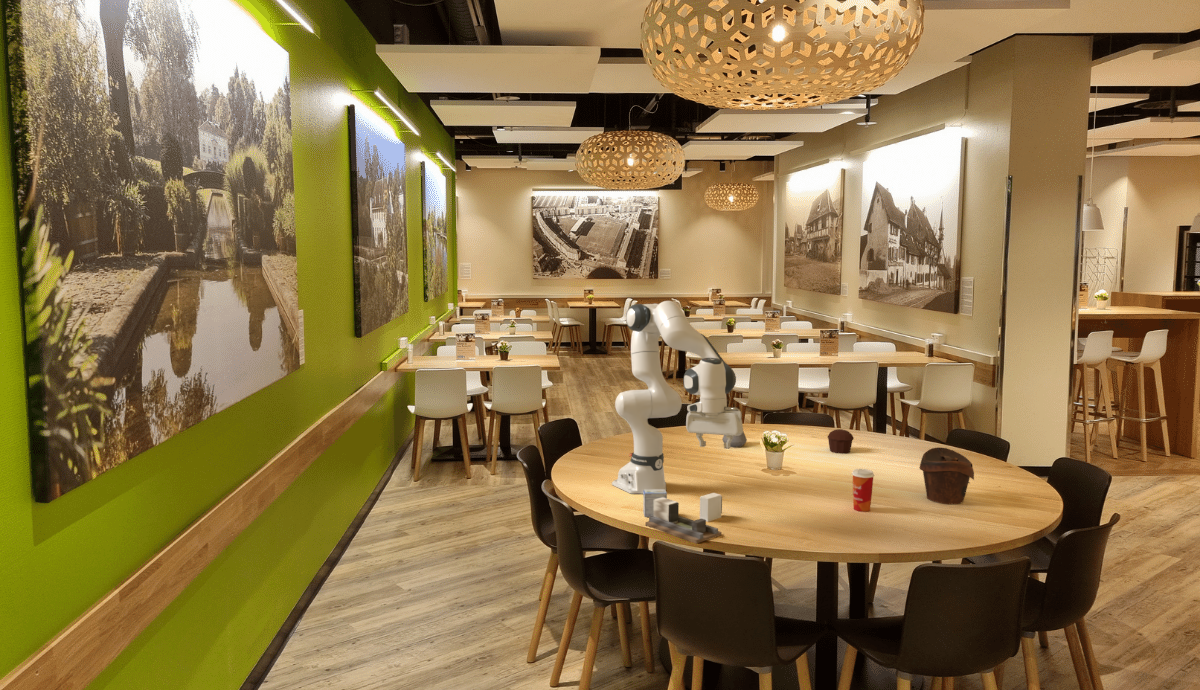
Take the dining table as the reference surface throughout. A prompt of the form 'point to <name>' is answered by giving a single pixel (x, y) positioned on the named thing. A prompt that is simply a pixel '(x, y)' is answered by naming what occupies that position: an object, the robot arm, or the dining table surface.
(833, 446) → the muffin
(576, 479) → the dining table surface
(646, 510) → the medicine box
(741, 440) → the coffee pot
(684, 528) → the rail
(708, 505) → the white box
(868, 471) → the paper cup
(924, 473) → the chocolate cupcake
